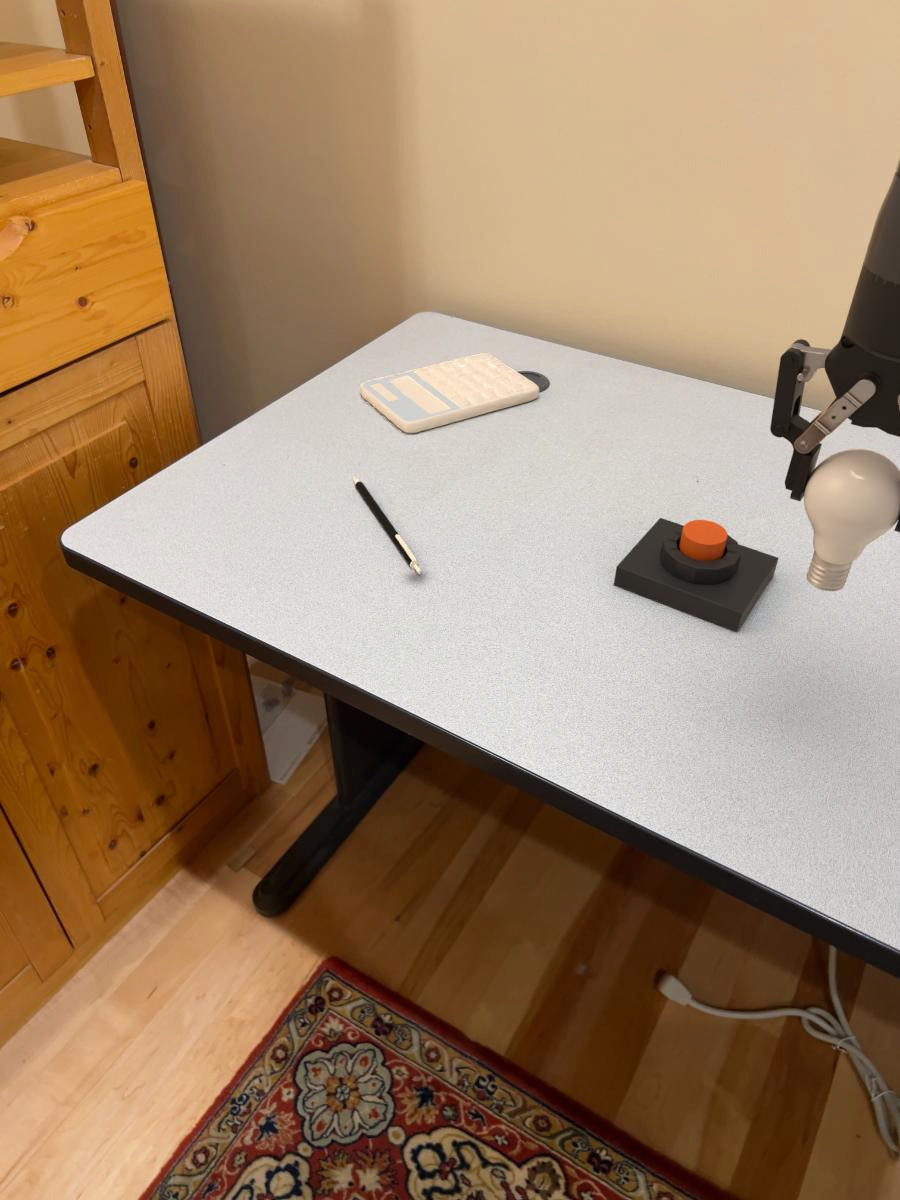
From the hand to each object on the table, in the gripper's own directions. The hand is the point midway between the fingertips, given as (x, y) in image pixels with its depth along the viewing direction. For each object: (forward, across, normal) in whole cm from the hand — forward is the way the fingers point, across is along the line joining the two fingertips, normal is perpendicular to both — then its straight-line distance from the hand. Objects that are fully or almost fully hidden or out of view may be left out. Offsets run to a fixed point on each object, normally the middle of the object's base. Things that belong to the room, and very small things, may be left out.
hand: (849, 510), depth 61 cm
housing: (+18, -12, +10) cm, 24 cm away
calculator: (+18, -53, +29) cm, 63 cm away
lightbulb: (+7, 0, 0) cm, 7 cm away
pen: (+18, -42, +1) cm, 46 cm away
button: (+14, -12, +10) cm, 21 cm away
